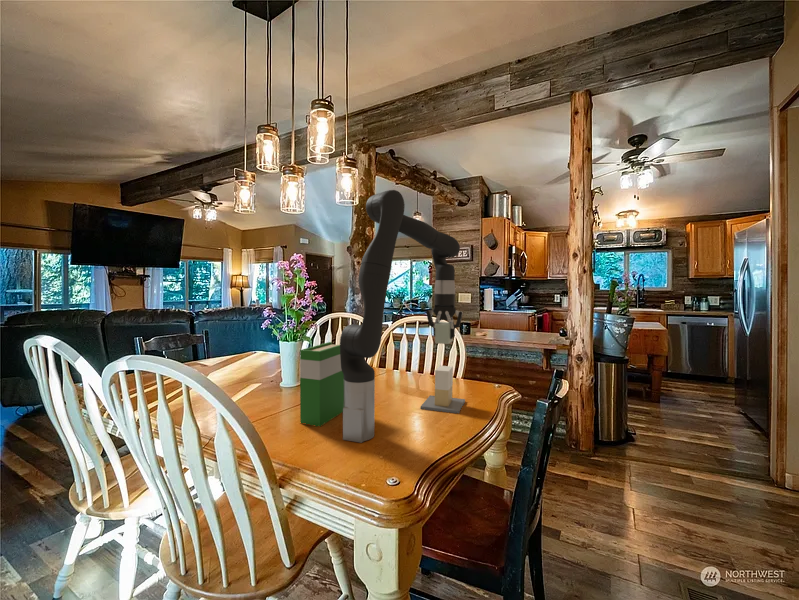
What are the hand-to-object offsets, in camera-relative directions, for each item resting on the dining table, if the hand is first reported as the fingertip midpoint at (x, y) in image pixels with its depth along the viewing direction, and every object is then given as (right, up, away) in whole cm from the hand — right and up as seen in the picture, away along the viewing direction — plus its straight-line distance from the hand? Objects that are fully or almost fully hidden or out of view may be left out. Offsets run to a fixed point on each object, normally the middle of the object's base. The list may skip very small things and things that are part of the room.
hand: (444, 338), depth 138 cm
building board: (0, -25, +1) cm, 25 cm away
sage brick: (0, -1, 0) cm, 1 cm away
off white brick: (0, -18, +1) cm, 18 cm away
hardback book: (-42, -26, -11) cm, 51 cm away
